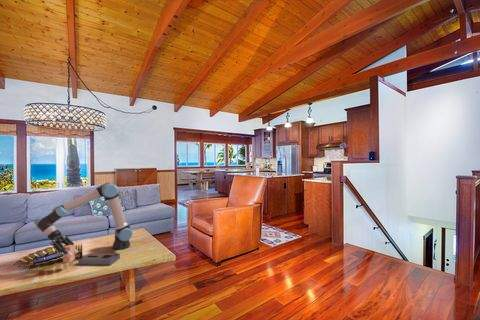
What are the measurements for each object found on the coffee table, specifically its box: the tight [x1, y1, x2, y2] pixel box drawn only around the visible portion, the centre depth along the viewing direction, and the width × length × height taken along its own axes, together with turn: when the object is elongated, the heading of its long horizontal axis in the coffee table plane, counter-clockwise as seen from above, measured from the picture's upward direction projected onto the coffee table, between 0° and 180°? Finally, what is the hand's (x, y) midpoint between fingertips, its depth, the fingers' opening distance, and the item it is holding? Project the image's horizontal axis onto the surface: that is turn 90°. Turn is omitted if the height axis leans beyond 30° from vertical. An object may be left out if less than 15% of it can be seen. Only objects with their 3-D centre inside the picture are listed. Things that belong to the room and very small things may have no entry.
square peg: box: [62, 244, 76, 263], centre depth 167 cm, size 5×5×11 cm
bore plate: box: [77, 252, 121, 266], centre depth 180 cm, size 13×26×4 cm, turn 89°
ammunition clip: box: [75, 243, 83, 260], centre depth 185 cm, size 11×2×12 cm, turn 128°
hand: (73, 254), depth 167 cm, fingers closed on square peg, 5 cm apart
